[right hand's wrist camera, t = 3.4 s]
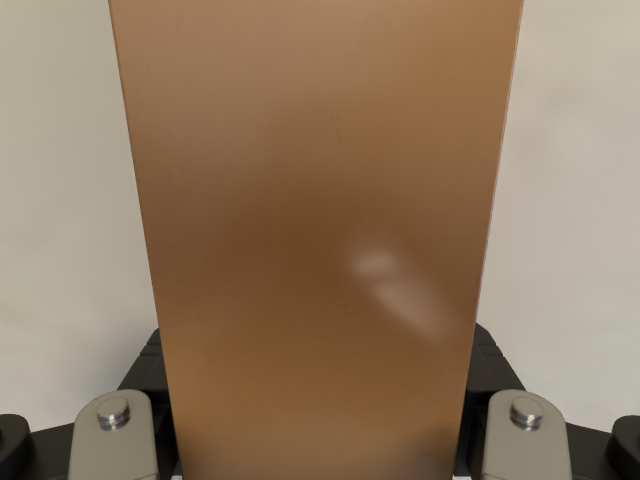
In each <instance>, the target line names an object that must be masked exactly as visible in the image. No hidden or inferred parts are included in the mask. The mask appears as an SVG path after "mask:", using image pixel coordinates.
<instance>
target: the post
mask: <svg viewBox="0 0 640 480" xmlns="http://www.w3.org/2000/svg"><path fill="white" fill-rule="evenodd" d="M523 2H524V0H108V3H109V9H110V16H111V22H112V28H113V35H114V41H115V48H116V54H117V61H118V67H119V73H120V80H121V86H122V93H123V99H124V106H125V112H126V119H127V125H128V131H129V138H130V144H131V151H132V157H133V164H134V170H135V176H136V183H137V189H138V196H139V202H140V209H141V215H142V222H143V228H144V234H145V241H146V247H147V254H148V260H149V267H150V273H151V279H152V286H153V292H154V299H155V305H156V312H157V318H158V324H159V331H160V337H161V344H162V350H163V357H164V363H165V370H166V376H167V382H168V389H169V395H170V402H171V408H172V415H173V421H174V427H175V434H176V440H177V447H178V453H179V460H180V466H181V473H182V479H183V480H452V477H453V470H454V464H455V457H456V450H457V444H458V437H459V430H460V424H461V417H462V410H463V404H464V397H465V390H466V383H467V377H468V370H469V363H470V357H471V350H472V343H473V337H474V330H475V323H476V317H477V310H478V303H479V297H480V290H481V283H482V276H483V270H484V263H485V256H486V250H487V243H488V236H489V230H490V223H491V216H492V210H493V203H494V196H495V190H496V183H497V176H498V169H499V163H500V156H501V149H502V143H503V136H504V129H505V123H506V116H507V109H508V103H509V96H510V89H511V82H512V76H513V69H514V62H515V56H516V49H517V42H518V36H519V29H520V22H521V16H522V9H523Z"/></svg>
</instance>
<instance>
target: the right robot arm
mask: <svg viewBox="0 0 640 480" xmlns="http://www.w3.org/2000/svg"><path fill="white" fill-rule="evenodd" d="M173 475H182V473H181V466H180V460H179V453H178V447H177V440H176V434H175V427H174V421H173V415H172V408H171V402H170V395H169V389H168V382H167V376H166V370H165V363H164V357H163V350H162V344H161V337H160V331H159V328H157V329H156V330H155V331H154V332H153V334H152V335H151V337H150V339H149V340H148V342H147V345H146V346H144V348H143V350H142V351H141V353H140V356H138V357H137V359H136V361H135V362H134V364H133V365H132V367H131V368H130V370H129V372H128V373H127V375H126V376H125V378H124V379H123V381H122V383H121V384H120V386H119V387H118V389H117V390H116V391H113V392H110V393H107V394H104V395H102V396H100V397H98V398H96V399H94V400H93V401H91V402H90V403H88V404H87V405H86V406H85V407H84V408H83V409H82V410H81V411H80V412H79V414H78V415H77V417H76V419H75V422H74V423H70V424H66V425H62V426H58V427H53V428H49V429H45V430H40V431H36V432H32V433H31V431H30V428H29V425H28V422H27V420H26V419H25V418H24V417H22V416H20V415H16V414H2V415H0V480H171V478H172V476H173ZM453 475H454V476H471V479H472V480H640V416H635V415H630V416H624V417H621V418H619V419H617V420H616V421H615V423H614V425H613V428H612V431H611V433H608V432H603V431H599V430H595V429H590V428H586V427H582V426H577V425H574V424H570V423H568V422H565V419H564V417H563V415H562V414H561V412H560V411H559V410H558V409H557V408H556V407H555V406H554V405H553V404H552V403H550V402H549V401H547V400H546V399H544V398H542V397H540V396H538V395H536V394H533V393H530V392H527V391H526V389H525V388H524V386H523V385H522V383H521V381H520V380H519V378H518V377H517V375H516V374H515V372H514V371H513V369H512V368H511V366H510V364H509V363H508V361H507V360H506V358H505V357H503V354H502V352H501V351H500V349H499V347H498V346H496V343H495V341H494V340H493V338H492V337H491V335H490V334H489V332H488V331H487V330H486V329H484V328H483V327H482V326H480V325H479V324H478V323H475V330H474V337H473V343H472V350H471V357H470V363H469V370H468V377H467V383H466V390H465V397H464V404H463V410H462V417H461V424H460V430H459V437H458V444H457V450H456V457H455V464H454V470H453Z"/></svg>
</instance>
